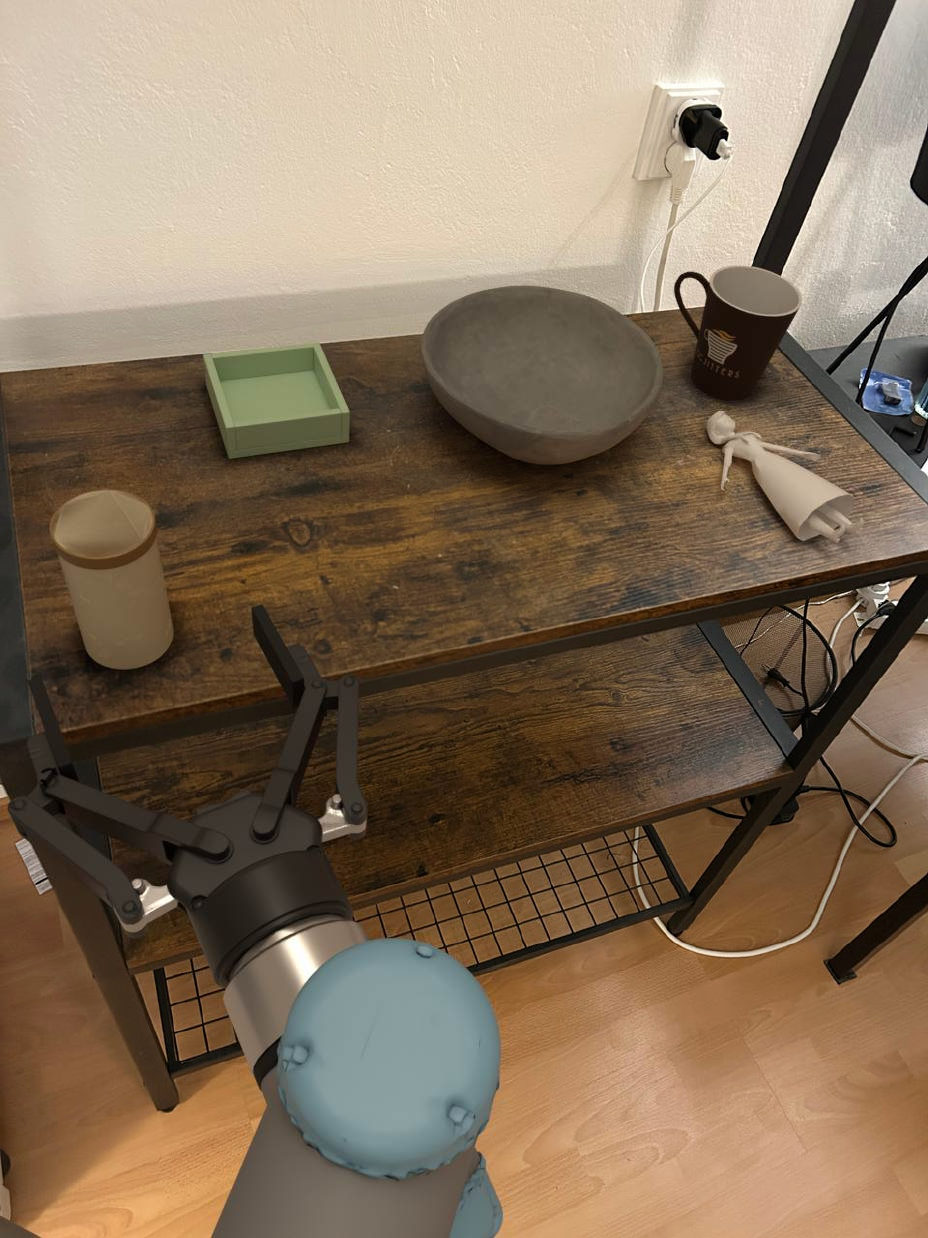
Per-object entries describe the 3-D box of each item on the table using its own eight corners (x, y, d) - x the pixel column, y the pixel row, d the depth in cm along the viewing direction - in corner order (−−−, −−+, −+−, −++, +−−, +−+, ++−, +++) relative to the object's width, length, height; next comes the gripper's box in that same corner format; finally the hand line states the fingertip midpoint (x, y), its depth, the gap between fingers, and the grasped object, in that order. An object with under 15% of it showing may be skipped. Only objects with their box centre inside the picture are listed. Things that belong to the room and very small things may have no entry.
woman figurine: (806, 533, 76) (668, 411, 87) (788, 574, 79) (657, 452, 90) (909, 496, 81) (766, 385, 91) (888, 537, 84) (752, 425, 94)
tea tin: (87, 679, 65) (54, 566, 57) (78, 611, 69) (44, 496, 61) (182, 660, 67) (162, 548, 59) (167, 595, 71) (147, 482, 63)
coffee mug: (781, 400, 96) (820, 310, 88) (707, 412, 93) (741, 321, 85) (720, 334, 102) (752, 245, 95) (650, 344, 100) (676, 253, 92)
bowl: (688, 471, 87) (715, 398, 81) (483, 528, 79) (497, 452, 73) (567, 341, 98) (583, 268, 92) (378, 380, 91) (382, 303, 85)
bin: (228, 459, 81) (225, 427, 79) (206, 385, 87) (202, 354, 85) (349, 442, 84) (350, 411, 82) (319, 372, 90) (319, 341, 88)
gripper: (50, 1103, 46) (-46, 762, 58) (492, 883, 56) (337, 629, 68) (12, 1054, 41) (-86, 687, 52) (511, 820, 51) (339, 553, 62)
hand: (153, 653), depth 60 cm, fingers open, 13 cm apart
